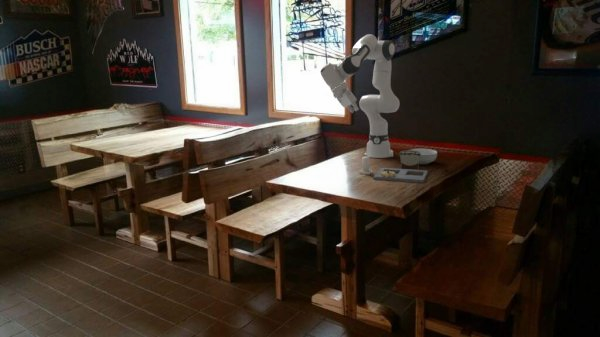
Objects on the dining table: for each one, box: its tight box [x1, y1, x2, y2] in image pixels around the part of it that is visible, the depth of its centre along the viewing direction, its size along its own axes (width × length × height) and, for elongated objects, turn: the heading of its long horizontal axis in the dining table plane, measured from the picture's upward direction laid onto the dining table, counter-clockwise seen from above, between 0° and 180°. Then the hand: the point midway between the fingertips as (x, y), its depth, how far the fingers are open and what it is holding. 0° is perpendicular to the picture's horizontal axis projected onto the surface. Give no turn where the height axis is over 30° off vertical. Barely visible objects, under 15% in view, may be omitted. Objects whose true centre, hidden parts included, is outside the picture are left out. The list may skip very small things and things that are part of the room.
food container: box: [399, 149, 421, 170], centre depth 282 cm, size 12×6×10 cm, turn 74°
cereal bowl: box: [410, 148, 438, 165], centre depth 294 cm, size 17×17×7 cm
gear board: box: [372, 167, 429, 184], centre depth 266 cm, size 20×26×5 cm
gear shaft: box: [358, 156, 373, 176], centre depth 275 cm, size 7×7×9 cm
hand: (355, 111), depth 272 cm, fingers open, 8 cm apart
